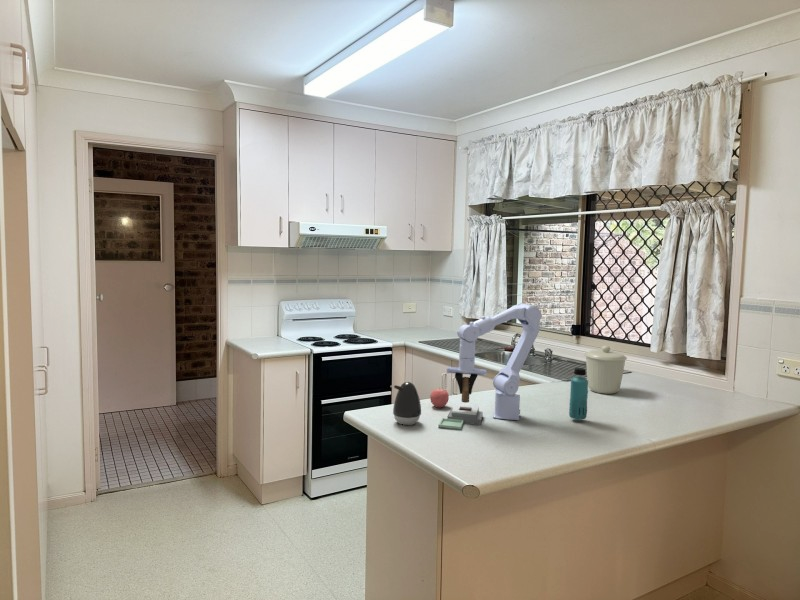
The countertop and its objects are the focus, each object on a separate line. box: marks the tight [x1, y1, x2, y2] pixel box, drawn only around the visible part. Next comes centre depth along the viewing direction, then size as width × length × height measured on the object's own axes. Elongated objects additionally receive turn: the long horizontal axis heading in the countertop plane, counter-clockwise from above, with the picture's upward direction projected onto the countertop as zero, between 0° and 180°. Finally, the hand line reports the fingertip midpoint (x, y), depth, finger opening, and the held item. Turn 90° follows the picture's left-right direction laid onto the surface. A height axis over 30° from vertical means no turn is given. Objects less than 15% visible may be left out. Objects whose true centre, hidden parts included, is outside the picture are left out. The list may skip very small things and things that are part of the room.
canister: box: [584, 345, 628, 395], centre depth 255 cm, size 18×18×21 cm
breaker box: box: [446, 404, 484, 426], centre depth 209 cm, size 12×10×4 cm
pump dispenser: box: [392, 381, 422, 426], centre depth 203 cm, size 10×10×15 cm
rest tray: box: [437, 417, 465, 431], centre depth 202 cm, size 8×8×1 cm
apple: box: [429, 387, 449, 408], centre depth 224 cm, size 7×7×8 cm
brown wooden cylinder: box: [461, 376, 470, 403], centre depth 208 cm, size 3×3×9 cm
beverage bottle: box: [568, 367, 589, 420], centre depth 210 cm, size 6×7×20 cm
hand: (465, 393), depth 208 cm, fingers closed on brown wooden cylinder, 3 cm apart
